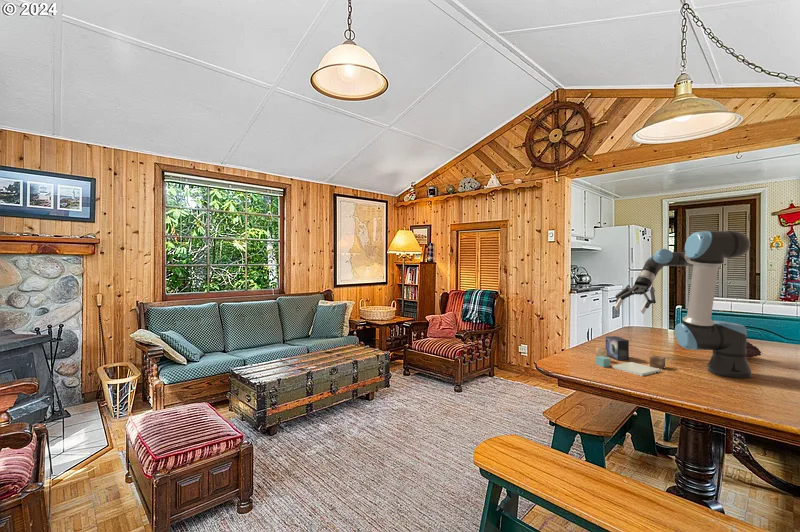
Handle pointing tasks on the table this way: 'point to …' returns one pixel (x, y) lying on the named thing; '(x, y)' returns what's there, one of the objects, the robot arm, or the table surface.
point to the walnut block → (657, 362)
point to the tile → (636, 368)
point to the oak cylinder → (601, 352)
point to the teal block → (603, 361)
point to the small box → (617, 348)
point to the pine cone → (752, 350)
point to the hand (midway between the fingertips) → (628, 310)
